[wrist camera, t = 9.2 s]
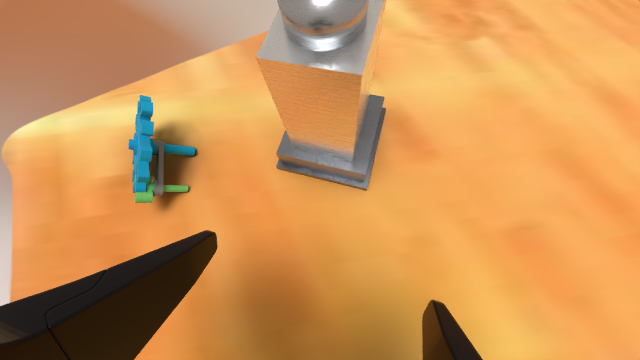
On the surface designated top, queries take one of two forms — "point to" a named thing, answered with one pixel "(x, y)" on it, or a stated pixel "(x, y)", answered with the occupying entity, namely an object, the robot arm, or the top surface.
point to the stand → (332, 167)
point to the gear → (143, 155)
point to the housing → (322, 70)
